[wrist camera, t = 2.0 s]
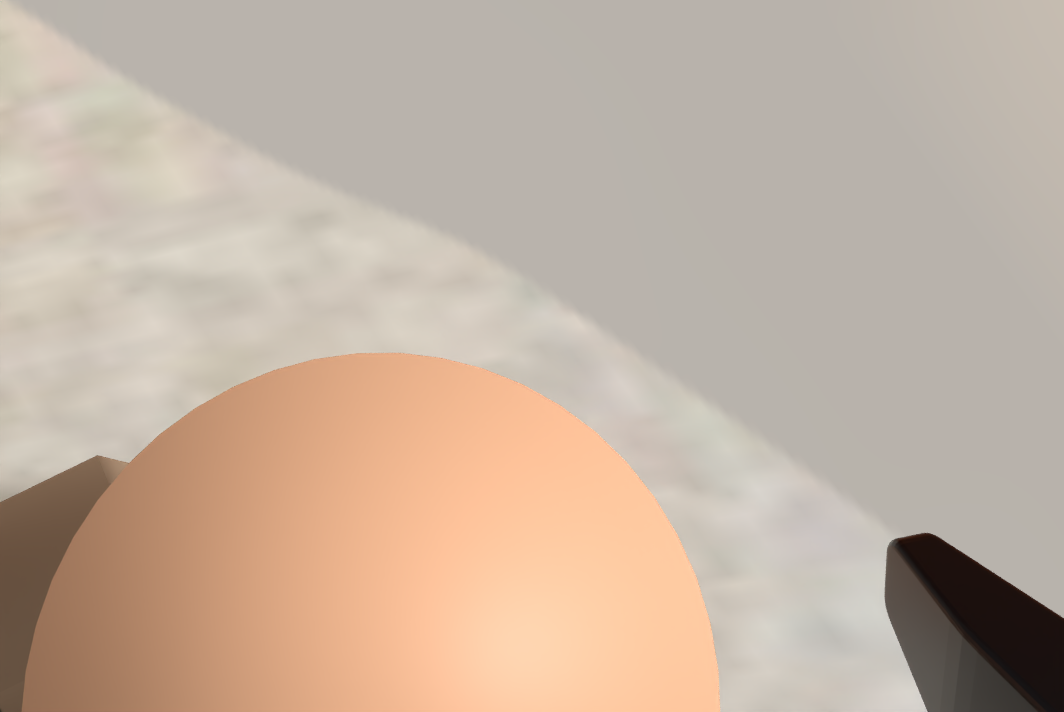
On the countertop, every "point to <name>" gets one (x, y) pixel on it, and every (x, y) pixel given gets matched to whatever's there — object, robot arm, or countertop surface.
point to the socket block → (39, 558)
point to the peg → (375, 559)
